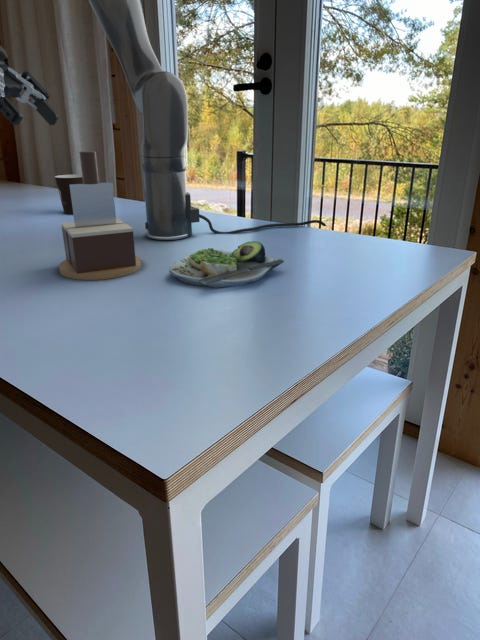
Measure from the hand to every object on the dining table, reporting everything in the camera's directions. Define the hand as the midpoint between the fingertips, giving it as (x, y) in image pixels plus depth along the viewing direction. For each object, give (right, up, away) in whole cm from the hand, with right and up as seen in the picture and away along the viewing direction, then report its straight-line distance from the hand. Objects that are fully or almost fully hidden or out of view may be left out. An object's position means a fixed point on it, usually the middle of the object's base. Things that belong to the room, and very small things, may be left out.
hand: (38, 121), depth 78 cm
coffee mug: (-14, -2, +59) cm, 60 cm away
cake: (+8, -23, +7) cm, 26 cm away
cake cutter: (+8, -16, +4) cm, 19 cm away
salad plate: (+31, -25, +4) cm, 40 cm away
